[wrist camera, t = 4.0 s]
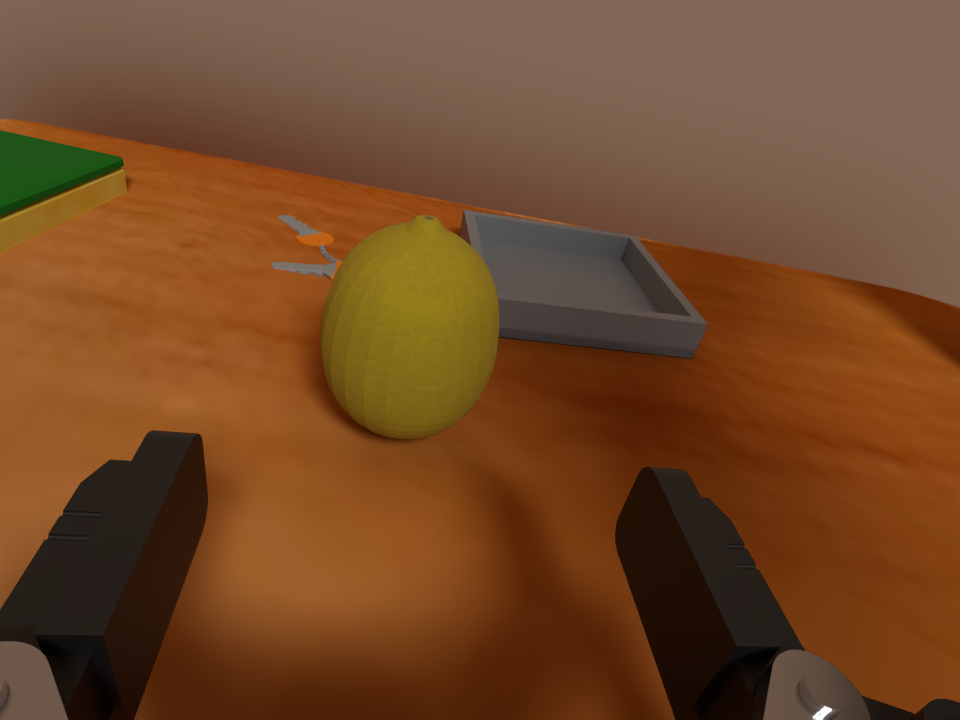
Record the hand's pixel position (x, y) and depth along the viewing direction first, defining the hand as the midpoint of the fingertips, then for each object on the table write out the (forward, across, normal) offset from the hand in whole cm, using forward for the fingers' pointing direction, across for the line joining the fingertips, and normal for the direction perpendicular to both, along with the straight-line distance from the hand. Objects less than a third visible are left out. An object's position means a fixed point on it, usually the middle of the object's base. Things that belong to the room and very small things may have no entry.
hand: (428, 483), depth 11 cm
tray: (+21, -9, +6) cm, 24 cm away
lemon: (+8, 0, +6) cm, 10 cm away
